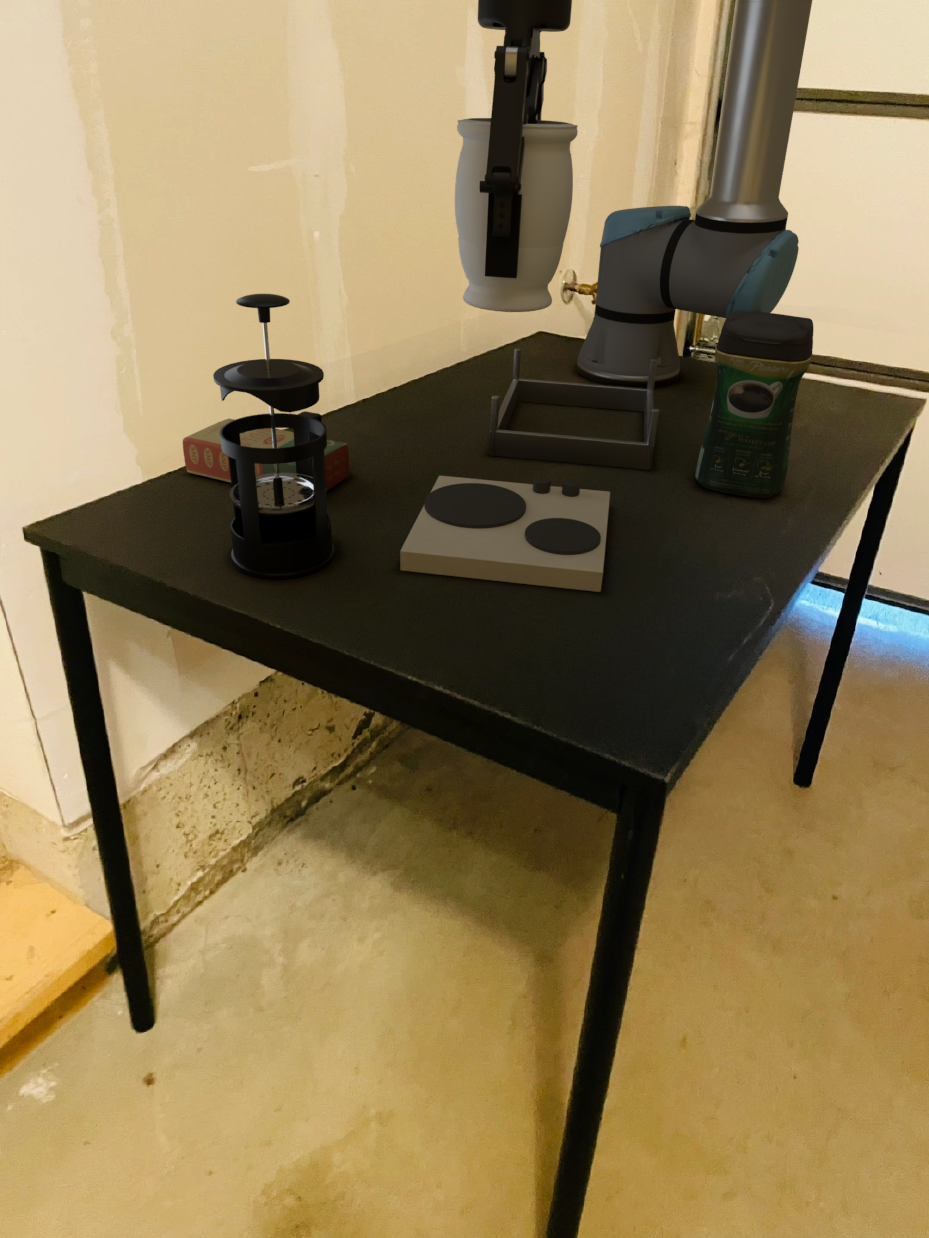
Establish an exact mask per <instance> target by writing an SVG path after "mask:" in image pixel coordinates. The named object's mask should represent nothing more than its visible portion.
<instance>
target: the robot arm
mask: <svg viewBox="0 0 929 1238" xmlns="http://www.w3.org/2000/svg"><path fill="white" fill-rule="evenodd" d="M477 1H478V2H477V22H478V24H479V26H480V27H481V28H483V29H487V30H496V31H504V36H503V44H502V45H496V48H495V51H494V54H493V56H494V57H493V58H494V64H493V65H494V66H493V72H494V73H493V74H494V79H493V80H494V81H493V91H492V103H491V104H492V106H491V116H490V118H491V125H490V137H489V148H488V159H487V171H486V175H485V181H480V193H489V195H488V217H487V239H486V261H485V276H488V277H502V278H517V269H518V253H519V237H520V221H521V205H522V194H519V191H520V190H521V175H522V167H523V158H524V146H525V142H524V137H522V132H523V124H524V125H526V124H538V120H542V109H543V105H544V99H545V98H544V97H545V95H544V93H545V89H544V88H545V82H546V78H547V73H548V58H546V55H545V51H541V33H542V32H545V33H552V32H553V33H556V32H557V33H560V32H565V31H566V30H568V29H569V27H570V26H571V18H572V6H573V0H477ZM812 6H813V0H735V3H734V11H733V18H732V24H731V25H732V26H731V33H730V39H729V41H730V42H729V48H728V56H727V63H726V64H727V65H726V72H725V77H724V78H725V79H724V85H723V94H722V102H721V108H720V116H719V123H718V124H719V125H718V133H717V137H716V138H717V140H716V146H715V154H714V161H713V169H712V178H711V185H710V192H709V195H708V197H707V199H705V200H704V201H703V202H702V203H701V204H700V205H699V206H698V207H697V208H696V210H695V217H694V219H690V218H691V217H692V213H691V208H690V207H689V206H687V205H659V206H658V205H657V206H645V207H643V206H642V207H632V208H625V209H618V210H614V211H612V212H610V214H608V216H607V217H606V219H605V220H604V223H603V230H602V235H601V241H600V244H599V248H600V253H599V263H598V273H597V283H596V293H595V306H594V317H593V320H592V322H591V324H590V327H589V329H588V332H587V334H586V336H585V339H584V342H583V344H582V345H581V349H580V350H579V354H578V356H577V363H576V371H577V373H578V374H579V375H580V376H582V377H583V378H586V379H588V380H590V381H593V382H597V383H601V384H603V385H609V386H621V387H634V388H647V384H648V376H649V369H650V361H651V359H658V362H657V369H656V376H655V383H654V388H655V387H660V386H666V385H669V384H672V383H674V382H676V381H677V380H678V379H679V376H680V369H681V360H680V355H679V347H678V343H677V336H676V330H675V318H676V310H678V311H684V312H688V313H689V312H690V313H695V314H699V315H700V314H702V315H704V316H705V315H707V316H710V317H711V316H712V317H717V318H722V319H726V318H727V317H728V316H729V315H730V314H731V313H732V312H734V311H737V310H738V311H752V312H765V313H773V311H774V310H775V308H776V307H777V306H778V304H779V302H780V300H781V299H782V298H783V296H784V294H785V293H786V290H787V288H788V286H789V283H790V281H791V279H792V276H793V274H794V271H795V267H796V263H797V261H798V255H799V249H800V248H799V237H798V235H797V234H796V233H795V232H793V231H792V230H791V229H787V223H788V218H789V212H788V210H787V209H786V207H785V206H784V204H783V203H782V202H781V200H780V194H781V193H780V192H781V187H782V180H783V174H784V169H785V162H786V158H787V157H786V156H787V152H788V145H789V141H790V140H789V139H790V134H791V127H792V121H793V117H794V116H793V115H794V109H795V104H796V99H797V92H798V88H799V82H800V81H799V80H800V76H801V69H802V63H803V57H804V51H805V46H806V40H807V36H808V35H807V34H808V30H809V29H808V28H809V22H810V16H811V12H812V11H811V10H812Z"/></svg>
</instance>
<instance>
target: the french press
mask: <svg viewBox="0 0 929 1238" xmlns="http://www.w3.org/2000/svg"><path fill="white" fill-rule="evenodd" d="M290 302H291V300H290V299H289V298H288V297H287V296H283V295H280V294H275V293H253V294H252V293H250V294H246V295H243V296H240V297H238V298H237V299H236V300H235V303H236V305H238V306H240V307H244V308H249V309H250V308H251V309H257V318H258V322H259V323H261V324H262V334H263V346H264V357H265V358H258V359H248V360H242V361H236V362H232V363H228V364H226V365H223V366H222V367H219V368H217V369H216V370H215V371H214V373H213V374H212V376H213V382H214V383H215V384H216V385H217V386H219V388H220V398H221V402H224V401H225V399H226V398H227V397H228V395H229V394H231V393H233V392H239V393H245V394H249V395H251V396H252V397H254V398H257V399H258V400H260V401H262V402H263V403H264V404H266V405H268V407H269V413H259V414H252V415H247V416H242V417H239V418H236V419H234V420H233V421H231V422H229V423H227V424H226V425H224V426H223V427H222V428H221V430H220V439H221V448H222V451H223V452H224V454H226V455H227V456H228V459H229V469H230V478H231V482H230V487H231V488H230V491H229V497H230V499H231V500H232V503H233V512H234V513H233V514H234V516H233V518H232V519H231V521H230V524H229V527H230V534H231V544H232V545H231V546H232V549H231V553H230V557H231V559H230V560H231V562H232V564H233V566H234V567H235V569H237V570H238V571H240V572H242V573H244V574H245V575H249V576H251V577H254V578H260V579H267V580H287V579H297V578H301V577H305V576H306V577H307V576H310V575H312V574H314V573H317V572H319V571H322V570H323V569H325V568H326V567H328V566H329V565H330V564H331V563H332V562H333V560H334V558H335V554H336V548H335V544H334V543H333V532H332V519H331V515H329V514H328V502H327V501H328V498H327V491H326V477H325V458H324V450H325V448H326V447H327V439H328V433H327V427H326V425H325V424H324V423H323V419H322V415H321V414H320V413H317V412H312V411H305V410H306V409H308V408H311V407H313V406H315V405H316V404H318V402H319V401H320V383H321V382H322V381H323V380H324V378H325V377H324V376H325V373H324V371H323V369H322V368H321V367H320V366H318V365H316V364H313V363H310V362H307V361H303V360H297V359H289V358H288V359H287V358H271V355H270V342H269V330H268V323H271V309H274V308H275V309H276V308H280V307H285V306H287V305H289V304H290ZM275 410H277V411H279V412H275ZM303 410H304V411H303ZM300 411H301V412H300ZM295 412H300V413H298V414H296V413H295ZM265 428H271V432H272V444H273V448H254V447H247V446H242V445H241V441H240V433H244V432H247V431H252V430H257V429H265ZM276 429H292V432H294V446H291V447H284V448H277V440H276ZM290 462H296V473H279V465H278V464H282V463H290ZM254 463H257V464H274V468H275V473H269V474H263V475H258V476H256V475H255V464H254ZM275 537H298V538H304V539H302V540H299V541H298V540H297V541H293V542H282V543H271V542H270V543H267V542H263V540H267V539H270V538H275Z"/></svg>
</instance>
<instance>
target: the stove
mask: <svg viewBox="0 0 929 1238" xmlns="http://www.w3.org/2000/svg"><path fill="white" fill-rule="evenodd" d="M551 483H552V480H551V479H550V478H549V477H546V476H535V477H534V478H533V480H532V483H531V484H530V483H522V482H512V481H511V482H510V481H501V480H492V479H491V480H490V479H480V478H470V477H461V476H448V475H438V477H437V479H436V480H435V483H434V484H433V486H432V489H431V490H430V493H428V494H427V495H426V497H425V498H424V502H423V503H424V504H423V506H422V508H421V510H420V512H419V514H418V516H417V517H416V519H415V522H414V523H413V526H412V527H411V529H410V531H409V533H408V535H407V537H406V539H405V541H404V543H403V545H402V547H401V549H400V551H399V563H400V564H399V566H400V567H399V570H400V571H403V572H411V573H421V574H430V575H440V576H448V577H458V578H465V579H466V578H468V579H476V580H477V579H478V580H485V581H495V582H502V583H503V582H504V583H513V584H520V585H521V584H523V585H524V584H525V585H529V586H530V585H532V586H540V587H550V588H557V589H559V588H560V589H567V590H576V591H577V590H578V591H585V592H595V593H601V592H602V585H603V578H604V568H605V567H604V566H605V556H606V555H605V554H606V546H607V545H606V543H607V536H608V535H607V532H608V523H609V522H608V521H609V511H610V499H611V491H606V490H596V489H585V488H581V482H580V481H579V480H578V479H572V478H569V479H564V480H563V481H562V486H553V485H551Z"/></svg>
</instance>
